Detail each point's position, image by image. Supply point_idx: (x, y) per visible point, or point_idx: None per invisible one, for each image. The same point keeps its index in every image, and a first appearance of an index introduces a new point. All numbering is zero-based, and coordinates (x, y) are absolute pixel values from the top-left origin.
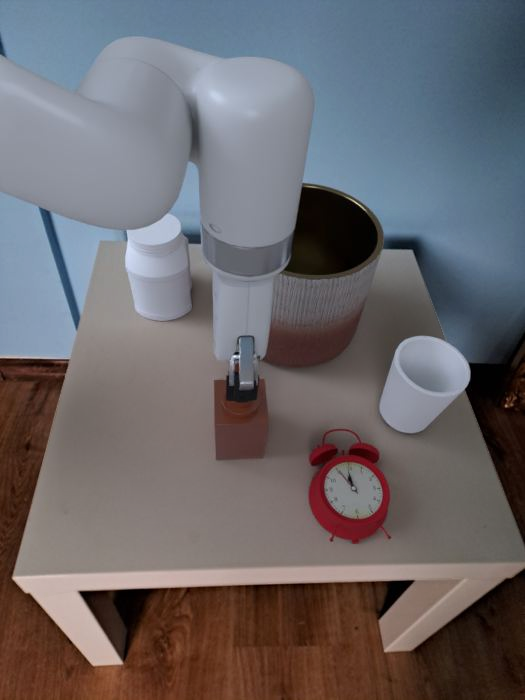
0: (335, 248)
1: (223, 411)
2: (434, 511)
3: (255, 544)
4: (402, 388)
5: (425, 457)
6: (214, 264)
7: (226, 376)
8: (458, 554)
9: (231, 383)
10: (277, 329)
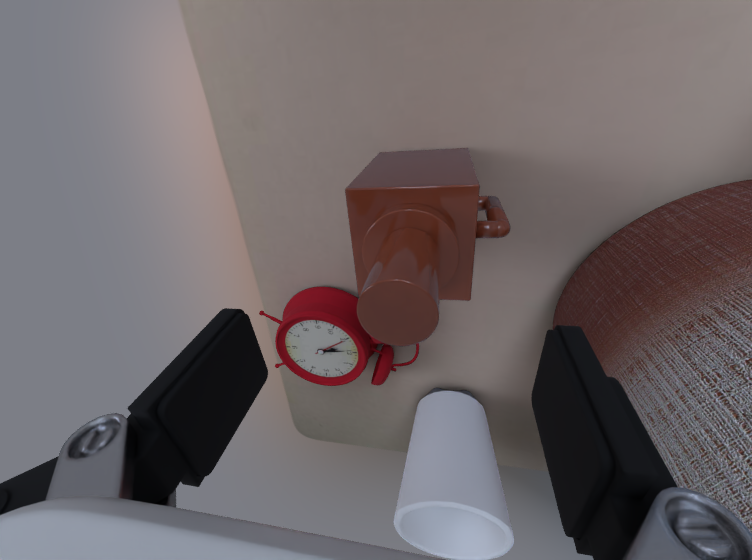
0: None
1: (382, 209)
2: (329, 396)
3: (260, 213)
4: (423, 480)
5: (389, 408)
6: None
7: (139, 410)
8: (291, 399)
9: (73, 445)
10: (625, 340)
